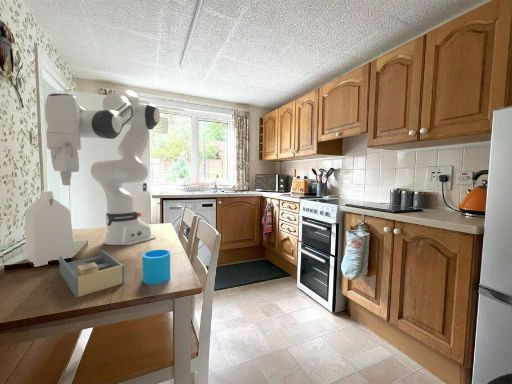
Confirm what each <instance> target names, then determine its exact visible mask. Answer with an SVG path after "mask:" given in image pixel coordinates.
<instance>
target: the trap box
mask: <svg viewBox="0 0 512 384" xmlns="http://www.w3.org/2000/svg"><path fill="white" fill-rule="evenodd" d="M58 262H59V274H60V275H61V277H62V278H63V280H64V282H65V283H66V285H67V287H68V288H69V290H70V291H71V292H72V294H73V296H74V297H75V298H79V297H82V296H86V295H89V294H92V293H95V292H100V291H102V290H105V289H106V290H107V289H109V288H112V287H116V286H119V285H122V284H124V283H125V265H124V264H123V263H121V262H120V261H118V260H117V259H116V258H114V256H112V255H111V254H109V253H108V252H106V251H105V250H104V249H103V248H99V255H98V256H92V257H88V258H84V259H78V260H74V261H68V262H67V261H66V260H64V259H63V258H62V256H61V257H59V261H58ZM93 262H94V263H95V264H97V265H98V271H97V272H93V273H89V274H85V275H81V276H78V267H77V266H79V265H84V264H88V263H93Z"/></svg>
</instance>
